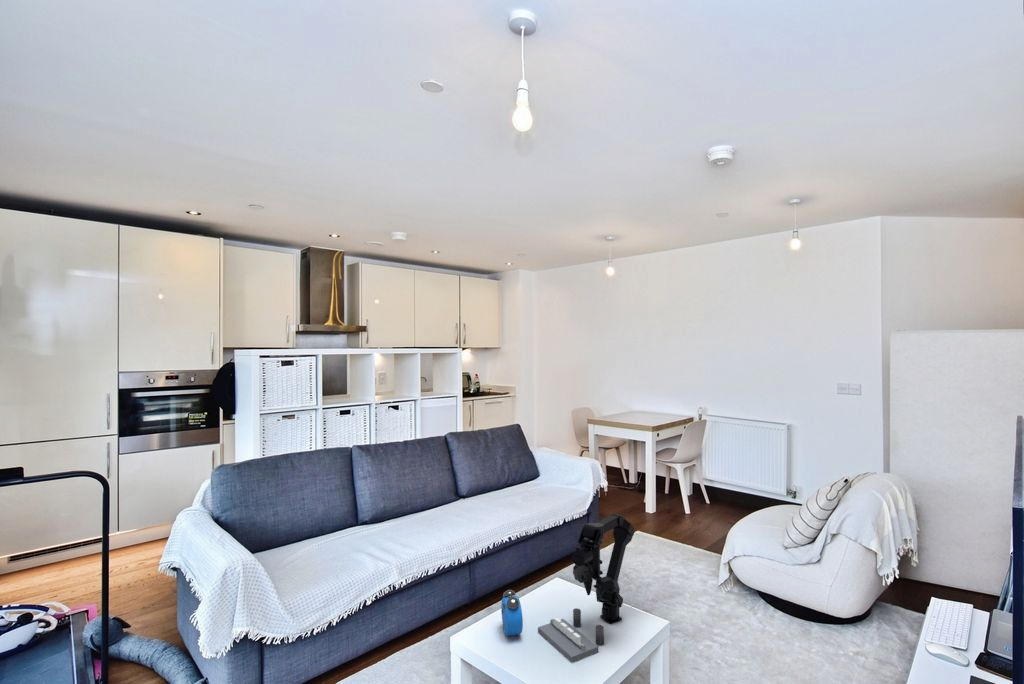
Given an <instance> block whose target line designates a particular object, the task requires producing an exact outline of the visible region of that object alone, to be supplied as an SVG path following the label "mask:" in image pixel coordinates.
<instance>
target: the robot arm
mask: <svg viewBox="0 0 1024 684" xmlns="http://www.w3.org/2000/svg"><path fill="white" fill-rule="evenodd" d="M611 530H612V536H613V539H614V543H613V547H612V551H611V554H610V559H609V564H608V566H607V570H606V574H605V576H601V575H603V574H604V573H603V570H601V565H602V564H603V560H601V545H602V544H603V541H602V540H603V539H604V538H605V534H606V533H607V532H609V531H611ZM635 531H636V530H635V527H634V526H633V524H632V523H631V522H630V521H628V520H627V519H625V518H624V516H622V515H621V514H617V513H611V514H610V515H609V516H606V517H605V518H603V519H601V520H599V521H597V522H589V523H585V524H584V525H583V527H582V529H581V530H580V534H579V538H578V541H577V544H578V546H576V547H575V550H574V551H573V552H572V554H571V561H572V562H573V564H574V566H573V569H572V574H573V577H574V580H575V581H577V582H579V583H580V584H583V585H584V588H585V591H586V595H587V596H590V595H591V593H592V586H593V588H594V589H595V596H596V602H599V603H602V604H601V605H602V607H601V615H599V617H600V618H601V619H603V620H604V621H605V622H607V624H608V623H609V625H612V624H614V623H618V622H620V621H623V617H621V616H620V608H622V606H623V604H624V598H623V597H622V596H621V594H620V586H619V583H618V581H619V577H620V576H619V575H620V572H621V569H622V564H623V562H624V561H623V560H624V556H625V551H626V548H627V545H629V543H631V542H632V539H633V538H634V537H633V536H634V534H635ZM593 581H595V584H593Z"/></svg>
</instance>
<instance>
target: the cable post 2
mask: <svg viewBox="0 0 1024 684" xmlns="http://www.w3.org/2000/svg"><path fill="white" fill-rule="evenodd" d="M604 627H605V626H603V625H601V624H597V625H596V626H595V644H596V645H597V646H598V647H601V646H604V645H605V635H604V634H605V629H604Z"/></svg>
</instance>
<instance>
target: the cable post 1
mask: <svg viewBox="0 0 1024 684" xmlns="http://www.w3.org/2000/svg"><path fill="white" fill-rule="evenodd" d="M581 613H582V611H581V609H580V608H578V607H577V608H573V610H572V617H573V618H572V619H573V620H572V622H573V625H572V626H573V627H574V628H576V629H577V628H580V627H581V626H582V617H581V616H582V615H581Z"/></svg>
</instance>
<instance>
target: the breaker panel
mask: <svg viewBox="0 0 1024 684" xmlns="http://www.w3.org/2000/svg"><path fill="white" fill-rule="evenodd" d="M560 620H561V621H562V622H563V623H565V624H566V625H567V626H568V627H570V628H571V629H572V630H573V631H574V633H575V632H576V633H577V634H578V635H580V636H581V648H580V647H579V646H578V645H577V644H576V643H574V642H573V641H572V640H571V639H570V638H568V637H567V636H566V635H565V634H564V633H562V632H561V631H560V630H559V629H558V628H556V627H555V626H554V625H553V624H552V622H553V621H554V618H550V621H549V622H550V623H547V624H544V625H540V626H538V627H537V633H538V634H539V635H540V636H542V638H544V639H545V640H546V641H547V642H548V643H549V644H551V646H553V648H554V649H556V650H557V651H558V652H559V653H561V655H563V657H565V658H566V659H567V660H568V661H569V662H570V663H571V664H572V663H575V662H577V661H580V660H582V659H585V658H588V657H590V656H592V655H595V654H597V653H599V652H600V651H599V645H597V644H596V642H594V641H592V640H591V639H589V638H588V637H587V636H585V634H583V633H582V632H581V631H579V630H578V629H577V628H576V627H574V626H573V625H572V624H571V623H569V622H568V621H567V620H566V619H564V618H561V619H560Z"/></svg>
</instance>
